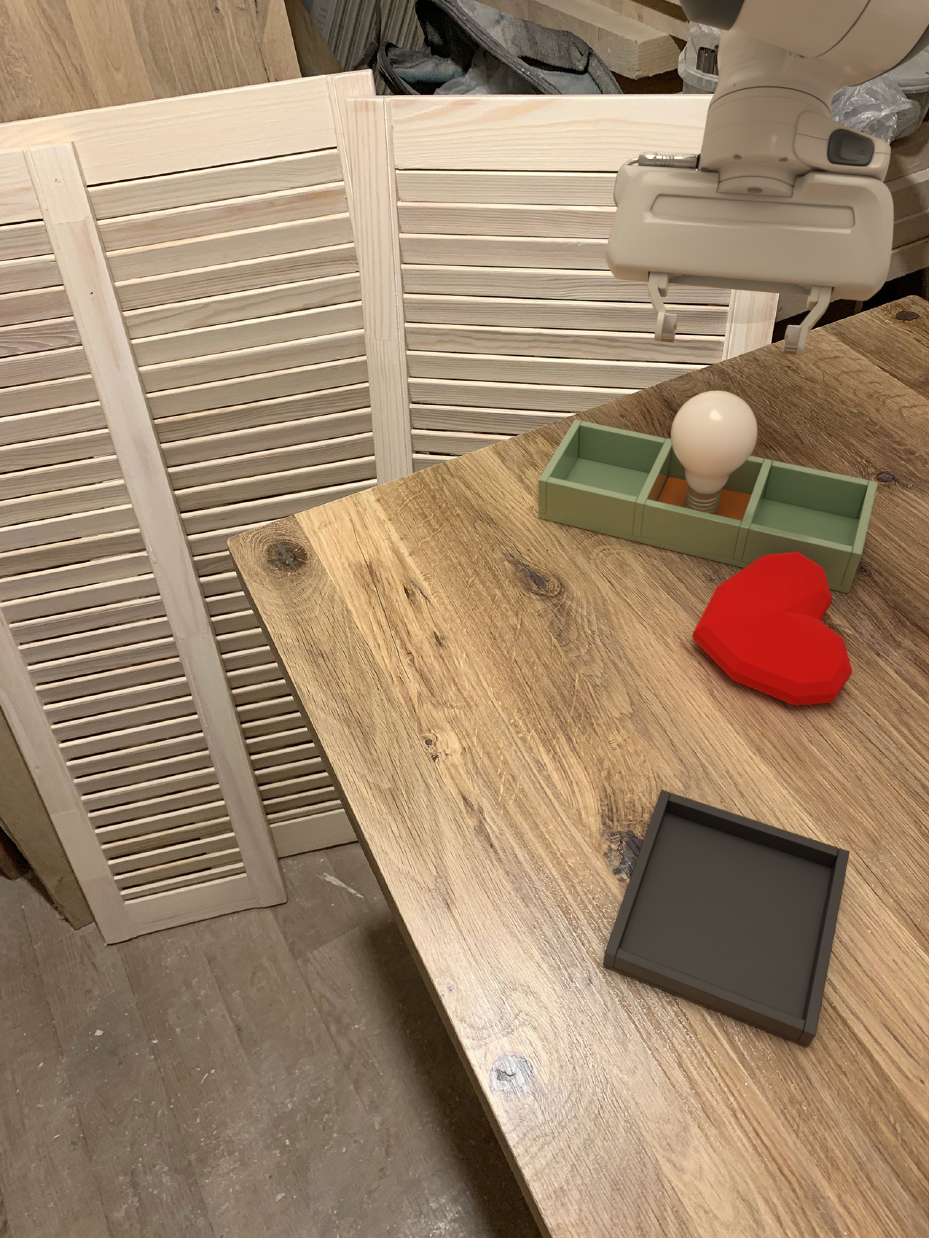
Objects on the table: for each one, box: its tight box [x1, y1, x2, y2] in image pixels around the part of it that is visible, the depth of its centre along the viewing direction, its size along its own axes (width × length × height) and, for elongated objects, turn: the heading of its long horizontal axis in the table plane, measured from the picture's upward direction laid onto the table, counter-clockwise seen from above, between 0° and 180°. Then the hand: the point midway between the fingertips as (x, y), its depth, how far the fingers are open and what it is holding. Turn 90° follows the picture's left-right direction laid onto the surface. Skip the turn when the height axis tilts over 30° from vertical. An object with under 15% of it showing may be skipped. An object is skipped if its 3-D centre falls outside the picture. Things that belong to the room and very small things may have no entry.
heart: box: [691, 552, 853, 706], centre depth 66 cm, size 12×4×10 cm
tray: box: [602, 789, 850, 1048], centre depth 53 cm, size 11×11×2 cm
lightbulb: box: [670, 390, 759, 514], centre depth 72 cm, size 6×6×11 cm
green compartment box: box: [538, 419, 879, 594], centre depth 75 cm, size 25×9×4 cm, turn 66°
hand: (727, 346), depth 70 cm, fingers open, 8 cm apart
